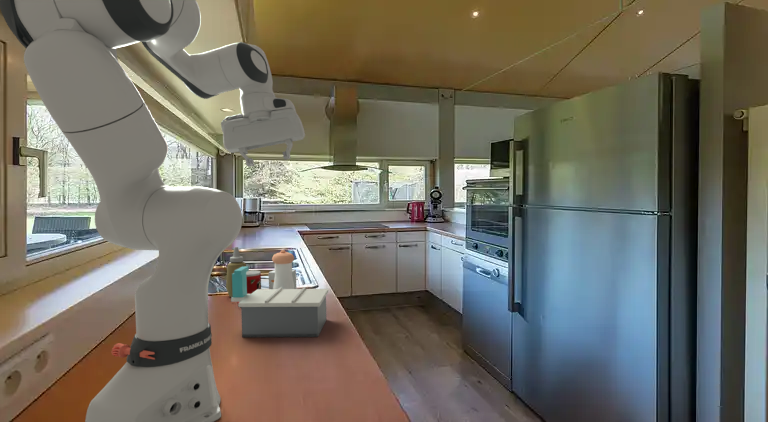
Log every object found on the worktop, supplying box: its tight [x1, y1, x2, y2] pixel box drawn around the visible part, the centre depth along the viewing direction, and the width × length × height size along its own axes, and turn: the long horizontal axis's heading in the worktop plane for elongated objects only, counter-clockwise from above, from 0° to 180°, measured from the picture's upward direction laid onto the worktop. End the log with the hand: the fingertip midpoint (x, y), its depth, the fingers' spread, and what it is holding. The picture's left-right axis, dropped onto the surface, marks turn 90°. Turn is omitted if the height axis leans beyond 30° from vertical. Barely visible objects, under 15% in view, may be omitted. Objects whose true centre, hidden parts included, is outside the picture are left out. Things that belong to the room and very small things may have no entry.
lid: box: [230, 265, 329, 308], centre depth 110 cm, size 15×25×9 cm, turn 89°
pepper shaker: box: [271, 249, 295, 289], centre depth 130 cm, size 7×7×19 cm
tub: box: [240, 296, 327, 338], centre depth 111 cm, size 14×20×8 cm
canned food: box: [236, 269, 262, 304], centre depth 135 cm, size 8×8×11 cm
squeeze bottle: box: [225, 246, 247, 298], centre depth 146 cm, size 8×8×18 cm
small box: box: [268, 269, 298, 289], centre depth 140 cm, size 8×6×10 cm
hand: (268, 162), depth 100 cm, fingers open, 8 cm apart
